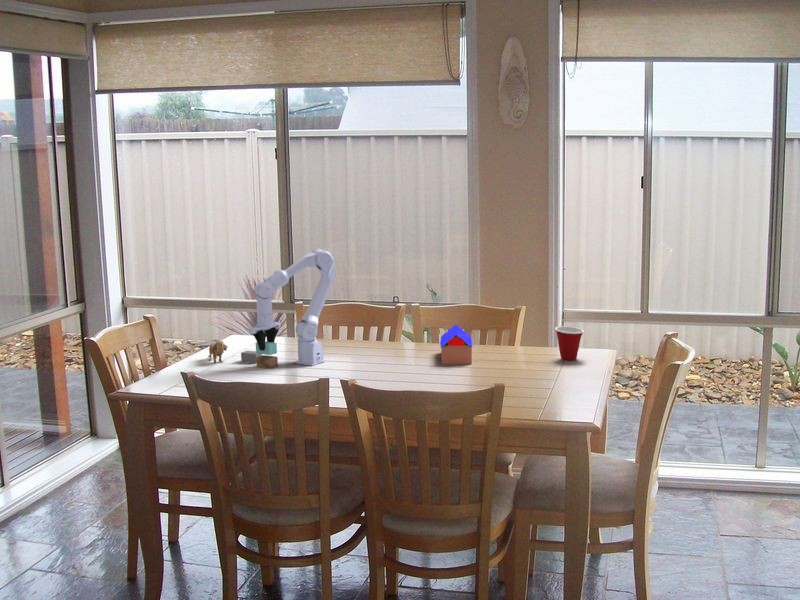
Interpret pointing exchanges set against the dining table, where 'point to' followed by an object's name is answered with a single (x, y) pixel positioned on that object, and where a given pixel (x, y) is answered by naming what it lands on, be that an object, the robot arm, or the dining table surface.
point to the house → (456, 346)
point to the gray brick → (249, 356)
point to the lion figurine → (217, 350)
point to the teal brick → (267, 348)
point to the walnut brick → (267, 361)
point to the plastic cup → (568, 342)
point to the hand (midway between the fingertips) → (266, 349)
